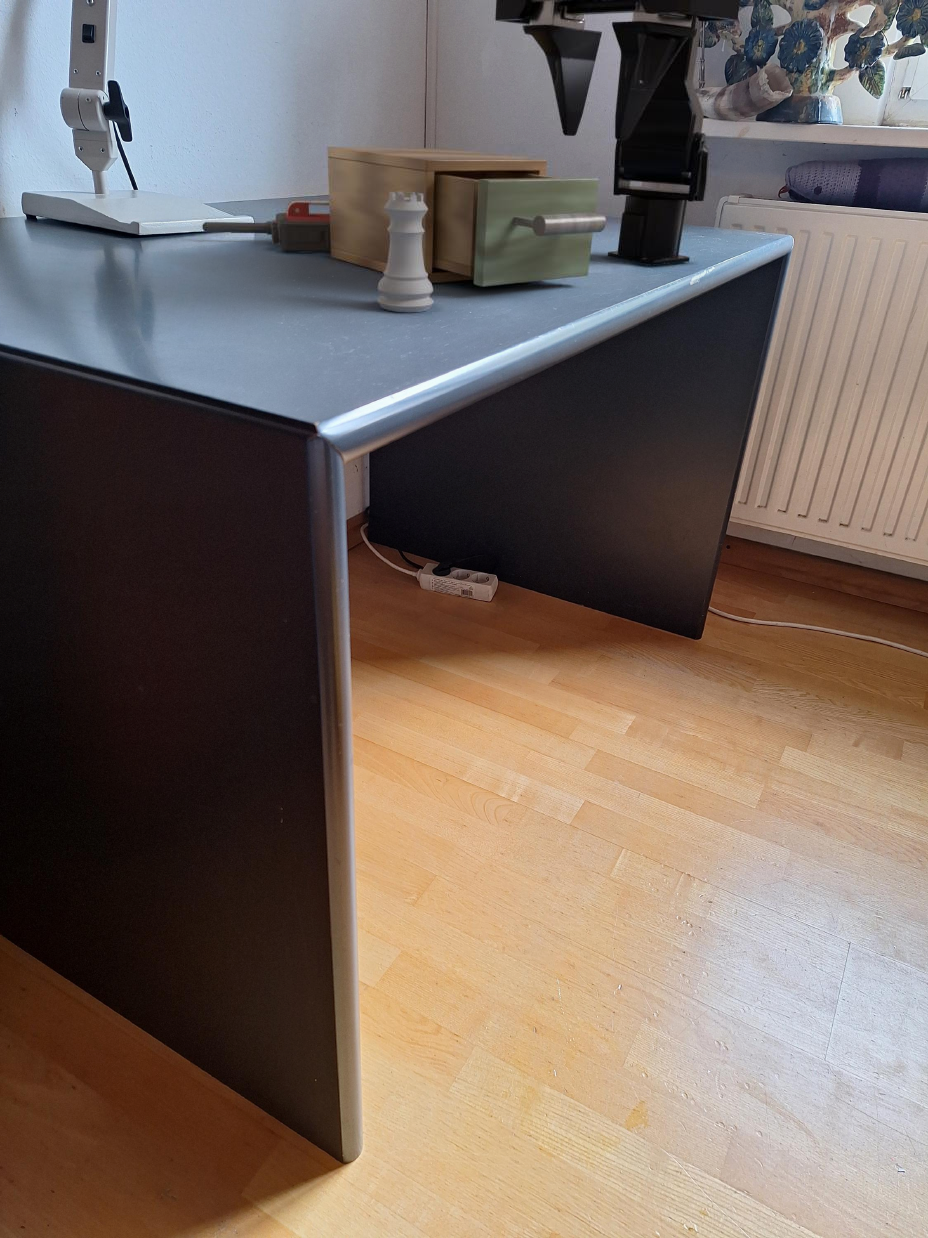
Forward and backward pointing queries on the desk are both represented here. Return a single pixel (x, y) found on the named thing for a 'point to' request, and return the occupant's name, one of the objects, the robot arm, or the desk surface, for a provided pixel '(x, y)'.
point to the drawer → (513, 225)
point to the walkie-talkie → (288, 228)
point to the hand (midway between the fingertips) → (594, 137)
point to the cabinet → (377, 171)
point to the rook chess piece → (405, 257)
